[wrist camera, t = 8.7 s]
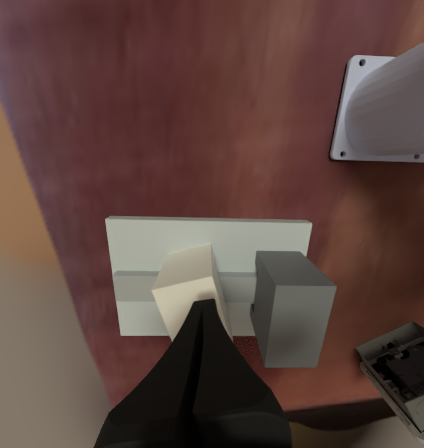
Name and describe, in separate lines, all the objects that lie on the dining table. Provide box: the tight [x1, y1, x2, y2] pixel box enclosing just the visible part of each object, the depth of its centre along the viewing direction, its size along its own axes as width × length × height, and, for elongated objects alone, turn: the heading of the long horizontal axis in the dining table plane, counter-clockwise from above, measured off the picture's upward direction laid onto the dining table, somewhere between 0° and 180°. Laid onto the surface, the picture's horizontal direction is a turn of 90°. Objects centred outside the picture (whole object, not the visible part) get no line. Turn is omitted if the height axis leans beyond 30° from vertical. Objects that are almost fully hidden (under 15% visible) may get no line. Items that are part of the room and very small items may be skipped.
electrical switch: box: [356, 322, 424, 445], centre depth 21 cm, size 9×5×9 cm, turn 123°
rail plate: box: [105, 216, 337, 368], centre depth 19 cm, size 20×14×7 cm
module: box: [151, 243, 233, 342], centre depth 18 cm, size 4×9×6 cm, turn 14°
